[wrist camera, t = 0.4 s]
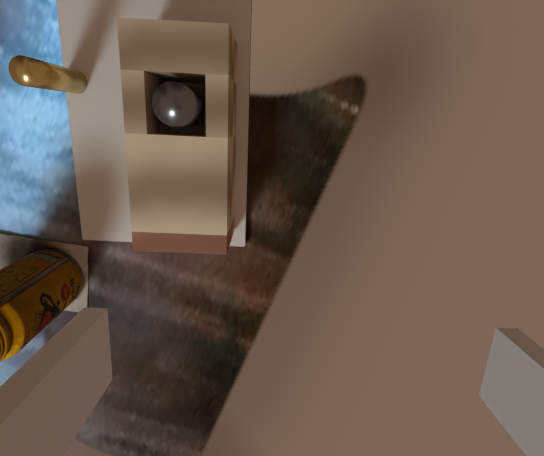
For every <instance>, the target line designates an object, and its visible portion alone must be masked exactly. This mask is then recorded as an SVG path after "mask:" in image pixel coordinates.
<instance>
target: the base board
mask: <svg viewBox="0 0 544 456" xmlns="http://www.w3.org/2000/svg"><path fill="white" fill-rule="evenodd" d="M56 5H57V14H58V23H59V32H60V41H61V50H62V59H63V67H66V68H69V69H73V70H77V71H79V72H81V73H82V74H83V75H84V76H85V77H86V79H87V88H86V90H85V91H84V92H83V93H81V94H74V93H68V92H66V95H67V104H68V113H69V123H70V132H71V141H72V150H73V159H74V168H75V177H76V186H77V195H78V204H79V213H80V222H81V231H82V240H97V241H122V242H132V230H131V216H130V201H129V187H128V172H127V158H126V143H125V129H124V114H123V100H122V85H121V70H120V56H119V41H118V27H117V18H135V19H154V20H172V21H191V22H210V23H229V25H230V27H231V30H232V32H233V35H234V37H235V40H236V42H237V94H236V154H235V215H234V234H233V237H232V240H231V243H230V246H244V247H245V243H246V205H247V166H248V128H249V90H250V49H251V13H252V12H251V11H252V0H56ZM169 82H170V81H169ZM179 83H181V84H183V85H186V86H188V87H190V88H192V89H194V90H197V91H199V92H201V93H203V94H204V95H205V96H206V83H193V82H179ZM170 131H171V132H175V133H196V134H206V122H205V123H204V124H202V125H199V126H181V127H173V126H170Z"/></svg>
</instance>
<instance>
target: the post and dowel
mask: <svg viewBox="0 0 544 456" xmlns="http://www.w3.org/2000/svg"><path fill="white" fill-rule="evenodd" d="M9 73H10V75H11V77H12V79H13V80H14V81H15V82H16V83H18V84H20V85H23V86H29V87H35V88H42V89H48V90H55V91H61V92H68V93H74V94H81V93H83V92H84V91H85V90H86V88H87V79H86V77H85V76H84V75H83V74H82V73H81V72H79V71H77V70H73V69H69V68H66V67H62V66H59V65H55V64H51V63H48V62H44V61H40V60H37V59H33V58H29V57H26V56H21V55H20V56H15V57H14V58H12V59H11V61H10V63H9ZM152 107H153V110H154V113H155V115H156V116H157V118H158V119H159V120H160V121H161V122H163V123H164V124H166V125H168V126H173V127H181V126H199V125H202V124H204V123H205V122H206V96H205V95H204V94H203V93H201V92H199V91H197V90H194V89H192V88H190V87H188V86H186V85H183V84H181V83H179V82H174V81H170V82H165V83H163V84H161V85H160V86H159V87H158V88H157V89H156V90H155V92H154V94H153V98H152Z"/></svg>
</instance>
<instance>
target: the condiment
mask: <svg viewBox="0 0 544 456" xmlns="http://www.w3.org/2000/svg"><path fill="white" fill-rule="evenodd" d="M31 249H33V251H32V250H31ZM87 298H88V247H87V246H81V245H75V244H69V243H62V242H56V241H49V240H41V239H31V238H26V237H20V236H12V235H4V234H0V362H1V361H2V360H6V359H8V358H9V357H11V356H13V355H14V354H16V353H17V352H18V351H20V350H21V349H22V348H23V347H24V346H25V345H26V344H27V343H28V342H29V341H30V340H31V339H33V338H34V337H35V336H36V335H37V334H38V333H39V332H40V331H41V330H42V329H44V328H45V327H46V326H47V325H48V324H49V323H50V322H51V321H52V320H54V319H55V318H56V317H57V316H58V315H59V314H60V313H61V312H63V310H67V311H72V312H80V311H81V310H82V309H83V308H87Z"/></svg>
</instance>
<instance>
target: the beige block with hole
mask: <svg viewBox="0 0 544 456" xmlns="http://www.w3.org/2000/svg"><path fill="white" fill-rule="evenodd" d="M117 27H118V41H119V56H120V70H121V85H122V100H123V114H124V129H125V143H126V158H127V172H128V187H129V201H130V216H131V230H132V245H133V251H151V252H175V253H200V254H225V255H227V252H228V249H229V246H230V243H231V240H232V237H233V234H234V215H235V154H236V94H237V42H236V40H235V37H234V35H233V32H232V30H231V27H230V25H229V23H210V22H191V21H172V20H154V19H135V18H117ZM169 81H174V82H193V83H206V134H196V133H175V132H171V131H170V126H168V125H166V124H164V123H163V122H161V121H160V120H159V119H158V118H157V116H156V115H155V113H154V110H153V107H152V98H153V94H154V92H155V90H156V89H157V88H158V87H159V86H160V85H161V84H163V83H165V82H169Z"/></svg>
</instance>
